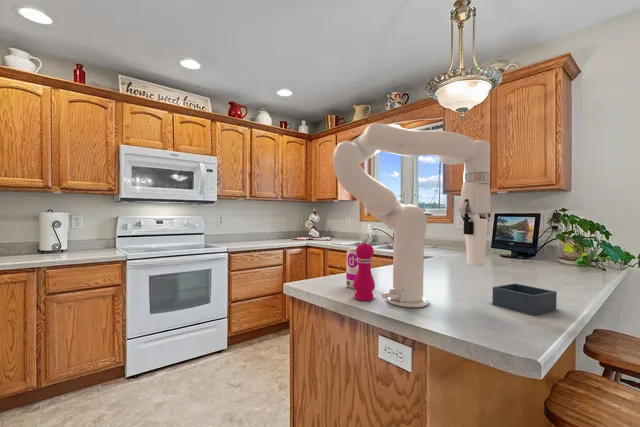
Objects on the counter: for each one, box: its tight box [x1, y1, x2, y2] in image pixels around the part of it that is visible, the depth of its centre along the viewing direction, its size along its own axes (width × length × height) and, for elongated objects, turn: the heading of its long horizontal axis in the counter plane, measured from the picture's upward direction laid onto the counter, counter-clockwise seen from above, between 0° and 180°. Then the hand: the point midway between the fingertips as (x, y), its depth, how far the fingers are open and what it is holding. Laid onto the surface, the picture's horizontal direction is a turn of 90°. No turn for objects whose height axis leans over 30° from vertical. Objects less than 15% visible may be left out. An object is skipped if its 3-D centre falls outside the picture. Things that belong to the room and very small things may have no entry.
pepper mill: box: [353, 238, 376, 302], centre depth 106 cm, size 7×7×20 cm
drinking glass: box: [464, 218, 489, 267], centre depth 102 cm, size 7×7×15 cm
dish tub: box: [491, 283, 558, 316], centre depth 99 cm, size 13×13×6 cm
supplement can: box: [345, 246, 358, 289], centre depth 123 cm, size 8×8×15 cm
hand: (475, 233), depth 102 cm, fingers closed on drinking glass, 6 cm apart
